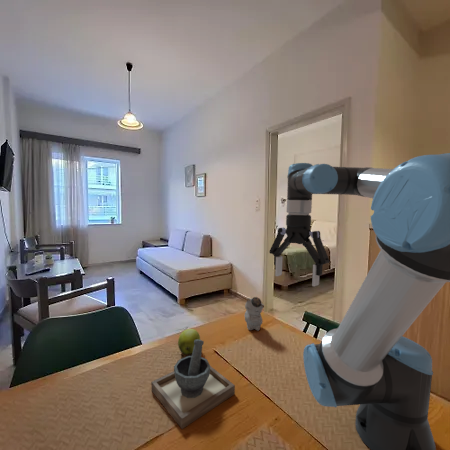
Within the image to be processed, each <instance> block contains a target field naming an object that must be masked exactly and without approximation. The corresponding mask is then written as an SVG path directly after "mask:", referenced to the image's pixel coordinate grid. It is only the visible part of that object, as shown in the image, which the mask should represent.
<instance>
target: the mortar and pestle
mask: <svg viewBox="0 0 450 450" xmlns="http://www.w3.org/2000/svg"><path fill="white" fill-rule="evenodd" d="M204 343H205V342H204V340H202V339H200V340H194V349H193V353H191V355H187V356H185V357H182V358H180V359H179V360H177V362H176V363H175V364H174V366H173V371H174V374H175V378H176V382H177V384H178V386H179V387H180V388H181V393H182V395H183V396H185V397H186V398H196V397H197V396H199V395H201V393H202V391H203V387H204V385H205V383H206V381H207V379H208V377H209V374H210V366H211V365H210V362H209V361H208V359H207V358H205V357H202V354H203V353H202V350H203V345H204Z"/></svg>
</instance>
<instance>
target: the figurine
mask: <svg viewBox="0 0 450 450" xmlns="http://www.w3.org/2000/svg"><path fill="white" fill-rule="evenodd" d="M244 307H245V310H246V311H245V312H244V321H245V322H246V329H247V330H248V331H252V330H256V331H257V332H259V330H260V329H261V325H262V324H263V322H264V321H263V318H262V314H261V313H262V311H263V309H264V308H265V304H264V303H262V300H261V298H259V297H257V296H254V297H252V298H246V302H245V305H244Z"/></svg>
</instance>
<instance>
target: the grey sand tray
mask: <svg viewBox="0 0 450 450" xmlns="http://www.w3.org/2000/svg"><path fill="white" fill-rule="evenodd" d="M150 385H151V392H152V393H153V395H154V396H155V397H156V398H157V399H158V401H160V403H161V404H162V406H163V408H165V409H166V411H167V413H168V414H169V415H170V416H171V417H172V419H173V420H174V421H175V422H176V423H177V425H178V426H179V428H180V429H182V430H183V429H185V428H186V427H187V426H189V425H190V424H192V423H194V422H195V421H196V420H198V419H199V418H201V417H202V416H204V415H206V414H207V413H209V412H210V411H212V410H213V409H215V408H216V407H218V406H219V405H220V404H223V403H224V402H225V401H226V400H228V399H229V398H231V397H232V396H235V391H236V385H235V384H234V383H232V382H231V381H230V380H228V379H227V378H226V377H225V376H224V375H222V374H221V373H220V372H219V371H217V370H216V369H215V368H214V367H212V366H211V365H210V374H209V377H208V379H207V381H206V383H205V385H204V387H203V391H202V393H201V395H199V396H197V397H196V398H186V397H185V396H183V395H182V393H181V388H180V387H179V386H178V384H177V382H176V378H175V374H174V370H173V371H170V372H169V373H167V374H165V375H163V376H161V377H158V378H156V379H154V380H152V381H151V384H150Z"/></svg>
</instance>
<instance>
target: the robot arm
mask: <svg viewBox="0 0 450 450" xmlns="http://www.w3.org/2000/svg"><path fill="white" fill-rule="evenodd" d="M287 172H288V173H287V189H286V190H287V192H286V193H287V194H286V195H287V196H286V198H287V199H286V214H287V213H288V214H287V215H286V218H285V219H286V220H285V225H286V227H278V228H277V233H276V237H275V238H274V241H273V243H272V245H271V247H270V248H269V254H272V255H273V256H274V257H273V266H275V271H274V277H280V276H282V275H283V257H284V256H282V254H283V252H285V250H286V249H287V248H288V247H289V246H290V245H291V244H297V245H302V246H304V247H305V250H306V251H307V252H308V254H309V255H310V257H311V258H312V260H313V262H314V264H312V280H311V281H312V283H311V286H312V287H313V288H314V287H317V286H319V285H320V276H322V275H323V265H325V264H329V263H330V258H329V256H328V253H327V251H326V248H325V246H324V243H323V241H322V238H321V231H319V230H313V231H312V230H311V227H312V226H311V225H312V216H311V213H312V208H313V206H312V205H313V195H341V196H342V195H346V196H347V195H350V196H359V197H364V198H370V199H372V201H371V206H370V210H372V211H373V213H372V215H370V222H371V227H372V229H373V232H374V234H375V241H376V245H377V246H378V248H379V249H380V251H379V252H378V254H377V256H376V258H375V260H374V262H373V263H372V265H371V267H370V269H369V271H368V272H367V274H366V276H365V278H364V279H363V282H362V283H361V286H360V287H359V289H358V291H357V293H356V294H355V296H354V298H353V300H352V302H351V304H350V305H349V307H348V309H347V310H346V313H345V315H344V317H343V318H342V320H341V322H340V324H339V326H338V327H337V328H333V329H330V330H329V331H327V332H326V333H325V334H324V335H323V337H322V339H321V342H320V343H317V344H315V343H314V342H313V343H311V344H310V343H309V344H307V345H305V347H304V348H303V356H302V360H303V366H304V371H305V376H306V380H307V383H308V386H309V389H310V391H311V394H312V396H313V397H314V399H315V401H316V402H317V403H318V404H319V405H320V406H323V407H333V408H338V407H342V406H343V407H345V406H357V405H359V406H358V407H357V410H356V412H355V422H354V423H355V425H354V426H355V429H356V432H357V435H358V437H359V438H360V439H361V441H362V442H363V443H364V445H365V446H366V445H367V446H368V447H369V448H370V449H371V450H437V448H436V443H435V439H434V435H433V432H432V430H431V426H430V422H429V419H428V417H429V408H430V399H431V398H430V397H431V391H432V390H431V389H432V379H433V375H434V372H433V358H432V356H431V354H430V352H429V351H428V350H427V349H426V348H425V347H424V346H422V345H420V344H419V343H417V342H415V341H414V340H412V339H410V338H408V337H405V336H403V335H405V333H406V332H407V331H408V330H409V328H410V327H411V326H412V325H413V323H414V322H415V321H416V320H417V319H418V318H419V316H420V315H421V314H422V312H423V311H424V310H425V309H426V307H427V306H428V305H430V304H429V303H431V302H432V300H433V299H434V297H435V296H437V294H438V292H439V291H440V290H441V289H442V288H443V287H444V285H445V284H446V283H450V152H449V153H448V152H447V153H441V154H440V153H439V154H424V155H418V156H415V157H412V158H410V159H409V160H407V161H403V162H402V163H400V164H398V165H397V166H395V167H394V168H379V167H366V166H365V167H354V166H353V167H349V166H348V167H347V166H332V165H330V164H328V163H320V164H319V163H317V164H314V165H313V164H312V163H309V162H297V163H292V164H290V165H289V166H288V171H287ZM285 235H286V237H285ZM284 237H285V238H284ZM310 237H311V239H312V240H311V239H310ZM283 239H284V240H283ZM313 244H314V245H313ZM367 446H366V447H367ZM368 447H367V448H368ZM369 448H368V449H369ZM370 449H369V450H370Z"/></svg>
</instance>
